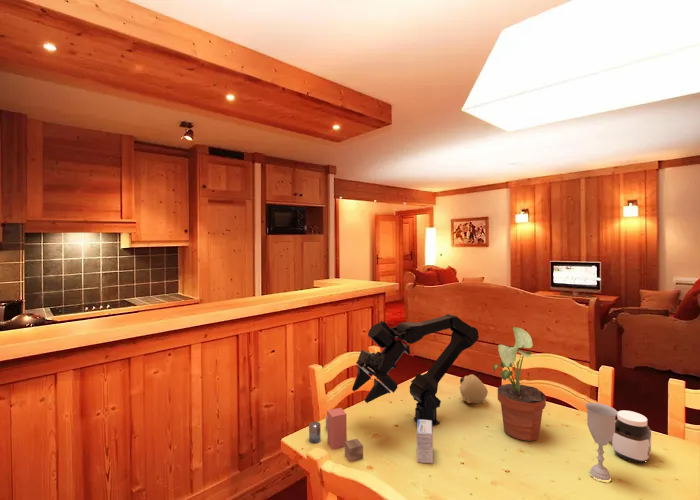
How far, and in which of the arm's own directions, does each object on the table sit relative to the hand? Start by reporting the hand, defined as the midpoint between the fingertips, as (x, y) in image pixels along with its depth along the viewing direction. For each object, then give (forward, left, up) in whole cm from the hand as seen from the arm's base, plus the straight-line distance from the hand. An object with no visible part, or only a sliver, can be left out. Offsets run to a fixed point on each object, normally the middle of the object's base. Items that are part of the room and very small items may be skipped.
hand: (359, 396), depth 115 cm
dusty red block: (+8, 0, -14) cm, 16 cm away
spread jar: (-67, +39, -14) cm, 79 cm away
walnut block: (+6, +8, -14) cm, 17 cm away
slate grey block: (+6, -8, -14) cm, 17 cm away
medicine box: (-13, +16, -14) cm, 25 cm away
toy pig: (-50, -5, -14) cm, 52 cm away
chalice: (-49, +43, -14) cm, 67 cm away
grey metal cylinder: (+13, -5, -14) cm, 19 cm away
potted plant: (-47, +19, -14) cm, 53 cm away
